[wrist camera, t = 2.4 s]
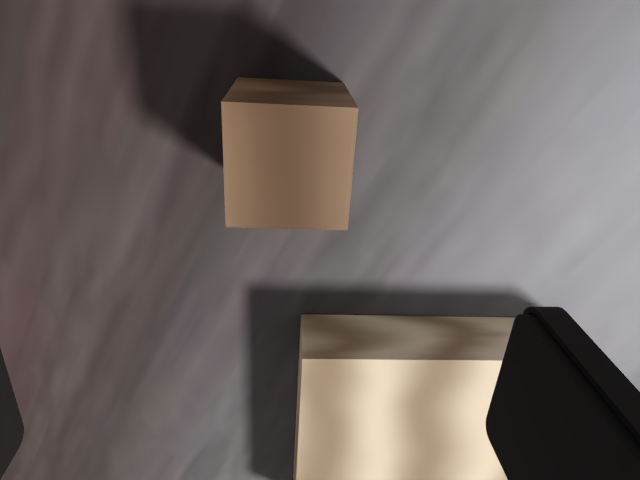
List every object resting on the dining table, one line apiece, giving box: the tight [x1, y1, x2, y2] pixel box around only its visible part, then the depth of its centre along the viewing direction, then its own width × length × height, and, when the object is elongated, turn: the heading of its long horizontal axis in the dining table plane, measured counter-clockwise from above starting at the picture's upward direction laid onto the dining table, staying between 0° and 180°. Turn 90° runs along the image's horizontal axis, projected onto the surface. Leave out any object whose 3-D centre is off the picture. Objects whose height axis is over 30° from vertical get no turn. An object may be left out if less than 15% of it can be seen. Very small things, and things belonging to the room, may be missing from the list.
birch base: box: [293, 314, 516, 480], centre depth 31 cm, size 16×16×4 cm
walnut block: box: [221, 77, 359, 230], centre depth 21 cm, size 5×5×6 cm
